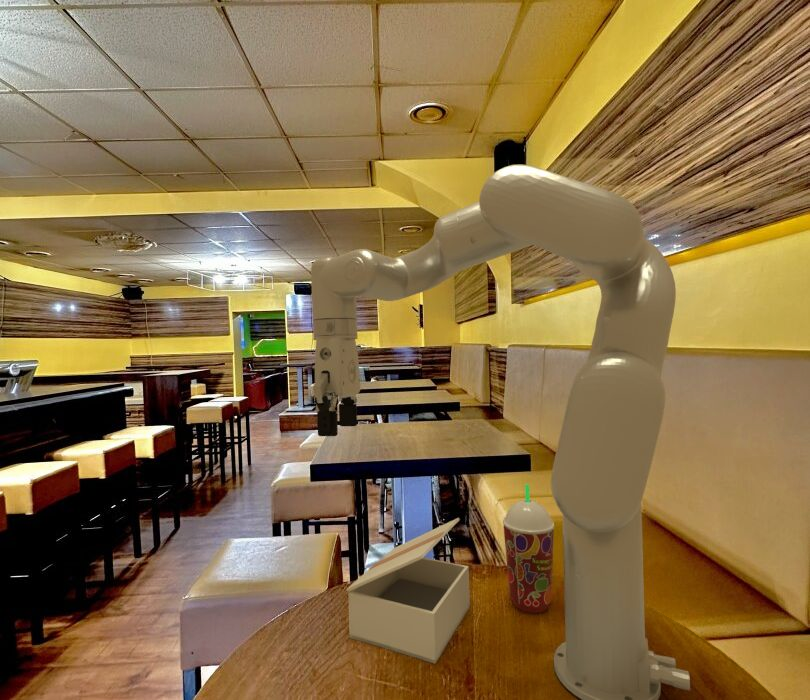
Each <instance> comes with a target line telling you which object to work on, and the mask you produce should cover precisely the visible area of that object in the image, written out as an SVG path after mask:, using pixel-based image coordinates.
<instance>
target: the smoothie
mask: <svg viewBox="0 0 810 700" xmlns="http://www.w3.org/2000/svg"><path fill="white" fill-rule="evenodd" d="M524 490H525V493H524V494H525V495H524V496H525V499H522V500H519V501H517V502H515V503H513V504H512V505H511V506H510V507H509V509H508V510H507V512H506V515H505V517H503V519H502V524H503V535H504V545H505V556H506V558H505V559H506V567H507V568H506V569H507V580H508V591H509V592H508V593H509V597H510V598H511V599H512V603H513V605H514V606H515V607H516V608H517V609H518V610H520V611H522V612H525V613H531V614H534V613H535V614H538V613H542V612H544V611H547V609H548V607H549V604H550V603H551V601H552V591H553V589H552V588H553V587H552V586H553V563H554V561H553V559H554V558H553V557H554V533H555V532H554V530H555V523H554V521H553V520H552V518H551V516H550V514H549V512H548V511H547V510H546V509H545V507H544V506H543V505H541V504H540V503H539V502H538V501H537V502H536V501H534V500H530V498H531V497H530V484H528V483H527V484H524Z"/></svg>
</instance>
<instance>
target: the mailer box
mask: <svg viewBox="0 0 810 700" xmlns="http://www.w3.org/2000/svg"><path fill="white" fill-rule="evenodd" d="M347 593H348V595H347V596H348V624H349V625H348V627H349V628H348V631H349V634H348V635H349V638H350V639H353V640H355V641H356V640H357V641H360V642H363V643H366V644H369V645H372V646H376V647H378V648H382V649H386V650H389V651H391V652H396V653H398V654H402V655H405V656H409V657H411V658H415V659H418V660H422V661H424V662H427V663H432V664H436V663H437V662H438V661H439V658H441V656H442V653H444V651H445V649H446V647H447V646H448V643H450V640H451V639H452V637H453V636H454V633H456V631H457V629H458V628H459V626H460V624H461V622H462V621H463V619H464V618H465V616H466V614H467V613H468V612H469V609H470V607H471V606H470V605H471V604H470V603H471V601H470V600H471V599H470V567H469V566H468V565H465V564H459V563H455V562H448V561H444V560H439V559H433V558H427V557H425V556H424V557H423V558H422V559H420V560H418V561H416V562H413V563H411V564H409V565H407V566H404V567H402V568H400V569H398V570H395V571H393V572H391V573H389V574H386V575H384V576H382V577H380V578H377V579H375V580H373V581H371V582H368V583H366V584H364V585H362V586H359V587H357V588H355V589H353V590H350V591H348V592H347Z"/></svg>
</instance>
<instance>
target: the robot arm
mask: <svg viewBox="0 0 810 700" xmlns="http://www.w3.org/2000/svg"><path fill="white" fill-rule="evenodd" d="M479 194H480V195H479V198H478V199H479V201H477V202H474V203H472V204H469V205H466V206H464V207H463V208H459V209H456V210H455V211H452V212H450V213H447V214H445V215H442V216H441V217H439V218H438V219H437V220H436V222H435V223H434V227H433V235H432V237H431V239H429V241H428V242H427V243H425V244H424V245H422V246H421V247H419V248H418V249H417V248H416V249H415V250H412V251H410V252H408V253H405V254H402V255H400V256H397V257H394V258H393V257H391V256H388V255H385V254H382V253H380V252H376V251H374V250H371V249H367V248H359V249H354V250H350V251H349V252H347V253H344V254H342V255H339V256H329V257H326V256H325V257H320V258H319V259H316V260H314V261H313V262H312V264H311V269H310V270H311V271H310V274H311V275H310V278H311V279H310V280H311V302H312V304H311V306H312V307H311V308H312V334H313V335H312V338H313V339H312V341H315V352H314V353H315V354H314V384H313V386H312V388H313V394H314V402H315V405H316V406H315V411H316V418H317V421H316V422H317V435H318V436H319V437H336V436H338V434H339V432H338V431H339V430H338V420H339V426H340V427H356V426H357V425H358V411H357V402H358V399H357V395H358V394H359V393H360V391H361V378H360V377H361V375H360V365H359V354H358V353H359V352H358V347H357V342H356V340H357V339H358V316H357V315H358V313H357V312H358V311H357V310H358V309H357V297H362V298H365V299H367V298H368V299H375V300H380V301H383V302H384V301H385V302H394V301H399V300H402V299H406V298H409V297H412V296H415V295H417V294H421V293H423V292H424V293H425V292H426V291H428V290H431V289H434V288H435V287H437V286H439V285H441V284H442V283H444V282H446V281H447V280H449V279H451V278H453V277H454V276H455V275H456V274H457V273H460V272H461V271H464V270H466V269H469V268H472V267H475V266H477V265H478V266H479V265H480V264H484V263H486V262H489V261H491V260H495V259H498V258H500V257H504V256H506V255H509V254H511V253H514V252H517V251H520V250H522V249H525V248H526V249H527V248H528V247H531V246H535V247H537V248H540V249H541V250H544V251H548V252H549V253H552V254H554V255H556V256H559V257H560V258H563V259H566V260H568V261H570V262H572V264H573V265H574V266H575V267H576V268H577V269H578V270H579V271H580V272H581V273H582V274H583V275H585V276H586V277H588V278H590V279H592V280H593V281H595V282H596V283H597V285H598V287H599V290H600V293H601V295H600V296H601V299H600V305H599V309H598V313H597V317H596V322H595V329H594V333H593V338H592V341H591V346H590V350H589V353H588V356H587V361H586V362H585V363H584V364H583V365H582V366H581V367H580V368H579V370H578V371H577V373H576V375H575V376H574V379H573V380H572V384H571V387H570V391H569V395H568V399H567V402H566V407H565V411H564V416H563V421H562V424H561V430H560V434H559V439H558V442H557V448H556V451H555V456H554V459H553V460H554V461H553V465H552V470H551V476H550V487H551V493H552V497H553V500H554V502H555V505H556V506H557V508H558V510H559V512H561V514H562V551H563V552H562V553H563V554H562V557H563V558H562V559H563V587H564V588H563V589H564V590H563V592H564V593H563V594H564V596H563V597H564V622H565V623H564V625H565V628H564V630H565V641H564V642H562V643H561V644H560V645H558V647H556V650H555V652H554V656H553V664H554V665H553V667H554V671H555V674H556V676H557V678H558V679H559V681H560V682H561V683H562V684H563V686H564V687H565V688H566V689H567V690H568V691H569V692H571V694H573V695H574V696H575V697H577V698H579V699H581V700H659V698H660V697H661V688H662V686H661V684H665V685H669V686H672V687H674V688H678V689H682V690H686V691H689V692H690V691H691V679H690V672H689V671H688V670H683V669H680V668H677V665H676V658H675V657H670V656H667V655H659V654H656V653H655V652H654V650H653V651H652V650H649V643H648V642H649V640H648V637H646V630H645V629H646V628H645V625H646V623H645V594H644V593H645V591H644V588H645V587H644V553H643V552H644V550H643V549H644V548H643V546H644V545H643V521H642V520H643V519H642V501H643V497H644V493H645V490H646V486H647V482H648V479H649V475H650V472H651V471H650V470H651V467H652V464H653V459H654V454H655V451H656V447H657V443H658V439H659V434H660V432H661V427H662V422H663V418H664V414H665V413H664V412H665V406H666V390H665V386H664V382H663V380H662V371H663V368H664V367H663V366H664V361H665V358H666V354H667V349H668V344H669V339H670V333H671V328H672V324H673V318H674V314H675V313H674V312H675V309H676V308H675V306H676V298H677V297H676V296H677V295H676V294H677V293H676V292H677V291H676V282H675V278H674V274H673V272H672V269H671V266H670V265H669V262H668V261H667V259H666V257H665V256H664V255H663V253H662V252H661V250H659V248H658V247H657V246H656V245H654V243H652V242H651V241H650V240H649V239H648V238H646V237H645V236H644V224H643V221H642V217H641V214H640V212H639V211H638V209H637V208H636V207H635V205H634V204H633V203H632V202H631V201H629V200H628V199H626V198H625V197H623V196H621V195H620V194H617V193H615V192H613V191H610V190H608V189H605V188H601V187H600V186H599V187H598V186H595V185H593V184H589V183H586V182H582V181H580V180H577V179H574V178H571V177H568V176H564V175H562V174H558V173H555V172H553V171H550V170H546V169H543V168H541V167H537V166H534V165H533V166H532V165H528V164H521V163H520V164H519V163H518V164H511V165H510V164H509V165H508V166H504V167H502V168H500V169H498V170H496V171H495V172H493V173H492V174H491V175H490V176H489V177H488V178H487V180H486V181H485V183H484V184H483V186H482V188H481V190H480V193H479ZM338 400H339V401H340V403H339V404H338V410H336V409H335V408H336V404H337V402H338ZM338 413H339V414H338ZM338 417H339V418H338Z"/></svg>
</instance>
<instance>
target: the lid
mask: <svg viewBox="0 0 810 700" xmlns="http://www.w3.org/2000/svg"><path fill="white" fill-rule="evenodd" d="M460 520H461V519H460V517H457V518H455V519H453V520H450V521H448V522H447V523H444V524H441V525H440V526H437V527H436V528H434V529H432V530H430V531H429V530H428V531H427V532H425V533H423V534H421V535H418V536H416V537H415V538H413V539H410V540H408V541H406V542H403V543H402V544H400V545H397V546H395V547H394V548H392V549H391V550H390V551H389V552H388V553H387V554H385V556H383V557H382V558H381V559H379V560H378V561H377V562H375V563H374V564H373V565H371V566H370V567H369V568H368V570H367V571H366V572H365V573H363V574H362V575H360V577H359V578H358V579H356V580H355V581H354V582H353V583H351V584H350V585H349V586H348V587H347V588H346V592H347V593H348V592H349V591H350V590H353V589H355V588H357V587H359V586H362V585H364V584H366V583H368V582H371V581H373V580H375V579H377V578H380V577H382V576H384V575H386V574H389V573H391V572H393V571H395V570H398V569H400V568H402V567H404V566H407V565H409V564H411V563H413V562H416V561H418V560H420V559H422V558H423V557H424V558H425V556H427V554H428V553H429V552H430V551H431V550H432V549H433V548H434V547H435V546H436V545H437V544H438V543H439V542H441V540H442V539H443V538H444V537H445V536H446V535H447V534H448V532H450V531H451V530H452V529H453V527H454V526H455V525H456V524H458V523H459V521H460Z"/></svg>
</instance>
